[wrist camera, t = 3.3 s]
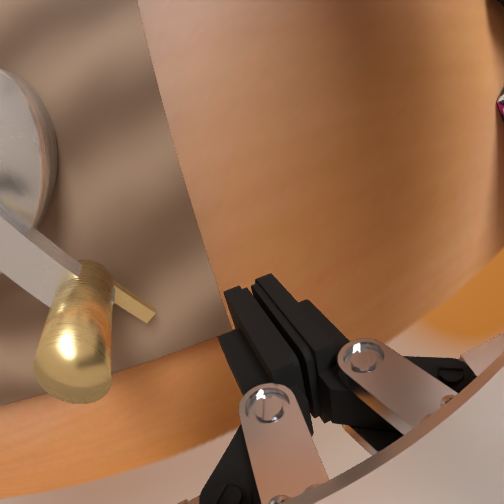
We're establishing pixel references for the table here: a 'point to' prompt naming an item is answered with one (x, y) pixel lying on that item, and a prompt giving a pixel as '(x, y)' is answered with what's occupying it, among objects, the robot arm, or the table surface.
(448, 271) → the table surface
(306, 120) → the table surface
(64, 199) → the stand
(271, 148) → the table surface
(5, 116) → the crank handle
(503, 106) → the candy bar box
